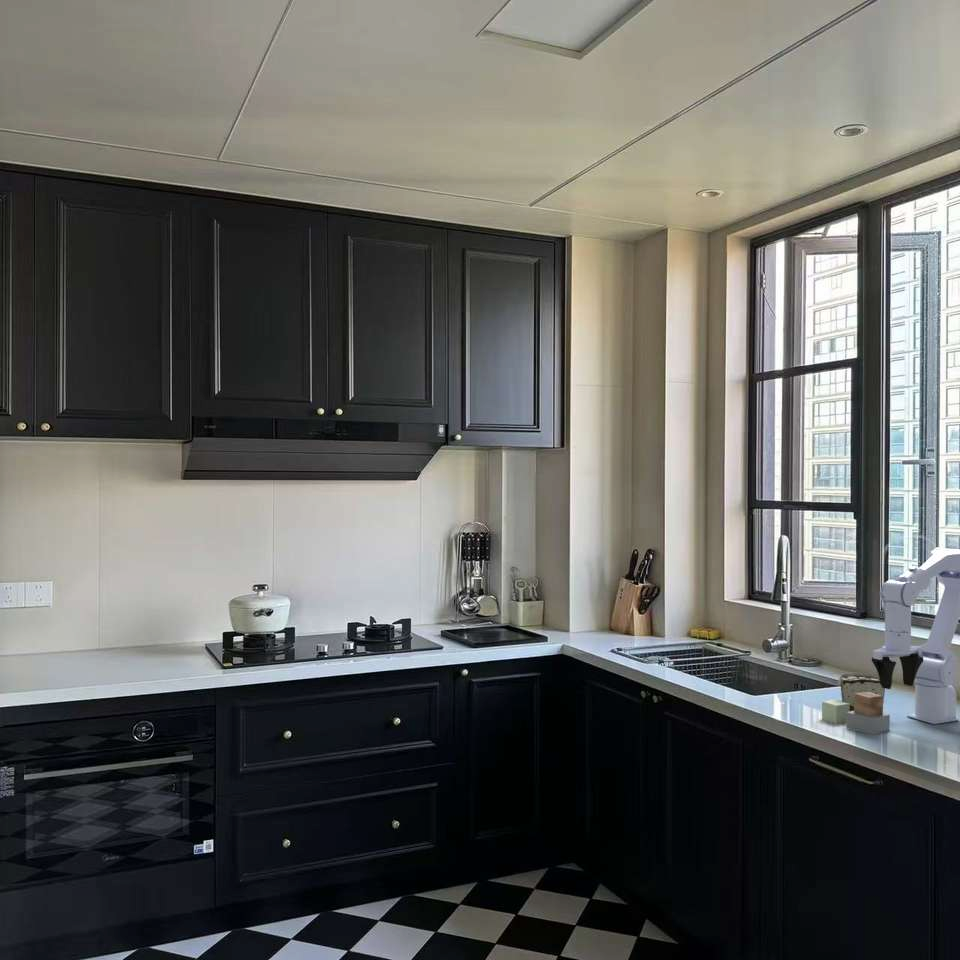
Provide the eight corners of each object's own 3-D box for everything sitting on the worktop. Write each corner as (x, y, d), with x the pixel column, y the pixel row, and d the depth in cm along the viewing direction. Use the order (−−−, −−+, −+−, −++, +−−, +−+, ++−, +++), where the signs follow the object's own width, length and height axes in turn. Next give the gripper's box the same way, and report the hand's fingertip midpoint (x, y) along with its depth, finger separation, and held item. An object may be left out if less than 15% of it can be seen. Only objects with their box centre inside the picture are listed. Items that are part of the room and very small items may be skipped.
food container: (876, 711, 235) (876, 672, 235) (887, 717, 229) (888, 677, 229) (829, 711, 235) (829, 672, 235) (839, 717, 229) (839, 677, 229)
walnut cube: (867, 710, 221) (868, 691, 221) (882, 714, 217) (883, 695, 217) (854, 711, 219) (854, 693, 219) (868, 716, 215) (869, 697, 215)
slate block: (861, 724, 223) (862, 708, 223) (889, 731, 218) (889, 714, 218) (846, 729, 219) (846, 712, 219) (873, 735, 213) (874, 718, 213)
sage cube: (835, 717, 229) (835, 699, 229) (849, 721, 225) (849, 703, 225) (821, 719, 227) (822, 701, 227) (836, 723, 223) (836, 705, 223)
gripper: (904, 626, 227) (904, 680, 227) (862, 630, 220) (862, 685, 220) (929, 630, 220) (929, 686, 220) (887, 634, 214) (886, 692, 214)
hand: (897, 686), depth 220 cm, fingers open, 7 cm apart
